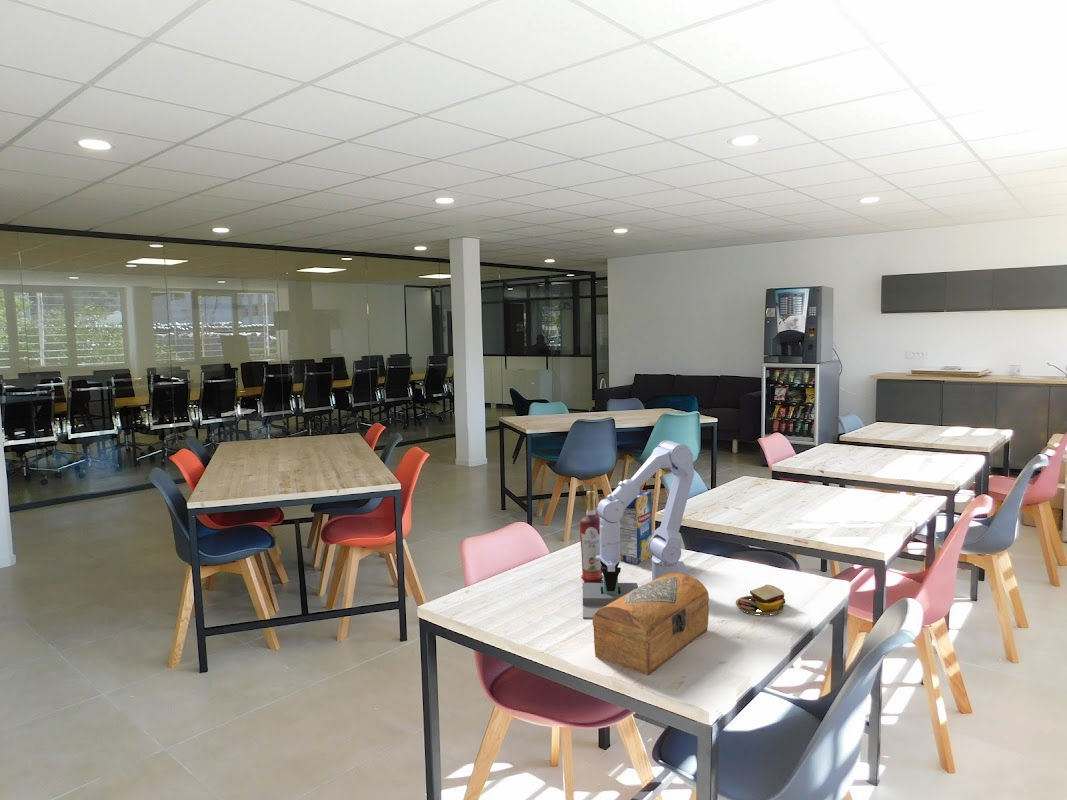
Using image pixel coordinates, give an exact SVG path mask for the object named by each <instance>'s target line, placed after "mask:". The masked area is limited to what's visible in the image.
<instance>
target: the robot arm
mask: <svg viewBox="0 0 1067 800" xmlns="http://www.w3.org/2000/svg"><path fill="white" fill-rule="evenodd" d="M694 456H695V455H694V454H693V452H692V450H691V449H690V448H689V447H688V446H687V445H686V444H684V443H678V442H676V441H672V440H671V439H669V440H668V439H664V440H663V441H661V442H660V443H659V444H658V446H656V447H655V448H653V450H652V453H651V455H649V457H648V458H647V459H646V460H645V462H644V463H643V464H642V466H640V467H639V469H638V470H637V471H636V472H635V473H634V475H633V476H632V477H631V478H630V479H626V478H625V479H624V480H623V481H622V480H620V481H619V482H618V484H617V485H618V486H617V487H616V488H614V490H613V491H612V492H611V493H609V494H608V495H607V496H606V498H603V499H601V500H600V501H599V502H598V504H597V507H595V509H596V515H597V516H599V518H600V555H597V556H596V560H600V563H601V565H602V566H601V571H602V575H604V578H605V583H606V588H607V591H615V588H616V582H617V578H618V579H619V574H620V573H621V570H622V568H621V567H622V566H621V567H619V565H620V562H621V561H620V560H621V556H620V519H621V518H622V517H623V514H624V510H625V508H626V507H627V506H628V505H629V504H630V503H631V502H632V501H633V500H634V499H635V498H636V497H637V496H638V495H639V493H640V491H641V490H640V488H641V487H642V486H643V485H644V484H645V483H646V482H647V481H648V480H649V479H651V478H652V477H653V475H655V474H656V473H657V472H658V471H659V470H660V469H666V468H667V469H670V470H671V472H672V473H673V478H672V482H671V485H670V489H669V492H668V493H669V494H668V497H667V500H666V504H665V508H664V511H663V515H662V518H661V521H660V522H661V523H660V526H659V527H657V528H656V529H655V530H654V533H653V534H652V538H651V539H650V541H649V543H648V550H649V552H650V553H651V554H652V556H651V581H653V580H654V579H656V578H658V577H660V576H662V575H664V574H667V573H674V572H676V573H682V574H686V571H685V570H686V568H685V564H684V561H681V560H680V559H681V556H682V548H681V546H682V539H681V535H680V528H681V524H682V521H683V517H684V515H685V514H684V513H685V510H686V507H687V506H686V505H687V502H688V499H689V495H690V490H691V487H692V484H693V481H694V480H693V479H694V476H695V469H694V464H693V459H694Z"/></svg>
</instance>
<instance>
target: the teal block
mask: <svg viewBox="0 0 1067 800" xmlns="http://www.w3.org/2000/svg"><path fill="white" fill-rule="evenodd" d="M602 575H603V574H602ZM602 581H603V582H602V583H603V594H618V583H619V582H618V581H619V577H618V578H617V582H616V588H615V591H607V588H606V583H605V578H604V575H603V579H602Z"/></svg>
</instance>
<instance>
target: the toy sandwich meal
mask: <svg viewBox="0 0 1067 800" xmlns="http://www.w3.org/2000/svg"><path fill="white" fill-rule="evenodd" d="M749 594H750V595H746V596H740V597H739V598H737V599H736V600H735V605H736V606H737V608H738V609H739V610H741V611H742V610H743V611H742V612H744V611H745V612H744V613H746V612H748V613H747V614H749V613H753V614H760V615H770V614H775V615H777V614H776V613H778V614H780V613H781V612H783V610H784V607H785V606H784V605H785V604H786V599H785V593H784V591H783V590H782V589H780V588H779V587H777V586H774V585H772V584H764V585H763V586H759V587H757V588H754V589H751V590H749ZM749 599H751V600H749ZM757 609H759V610H761V611H762V612H756V610H757ZM779 612H780V613H779ZM753 614H752V615H753Z"/></svg>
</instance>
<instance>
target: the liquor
mask: <svg viewBox="0 0 1067 800" xmlns="http://www.w3.org/2000/svg"><path fill="white" fill-rule="evenodd" d="M586 501H587V502H586V516H584V517H582V518H581V519H579V520H578V521H579V523H578V524H579V537H580V552H581V570H582V571H581V572H582V573H581V576H580V578H581V580H583V581H584V583H601V581H603V573H602V571H601V566H602V565H601V563H600V560H596V556H597V555H600V517H598V515H597V512H596V504H595V503H596V491H595V490H587V491H586Z"/></svg>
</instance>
